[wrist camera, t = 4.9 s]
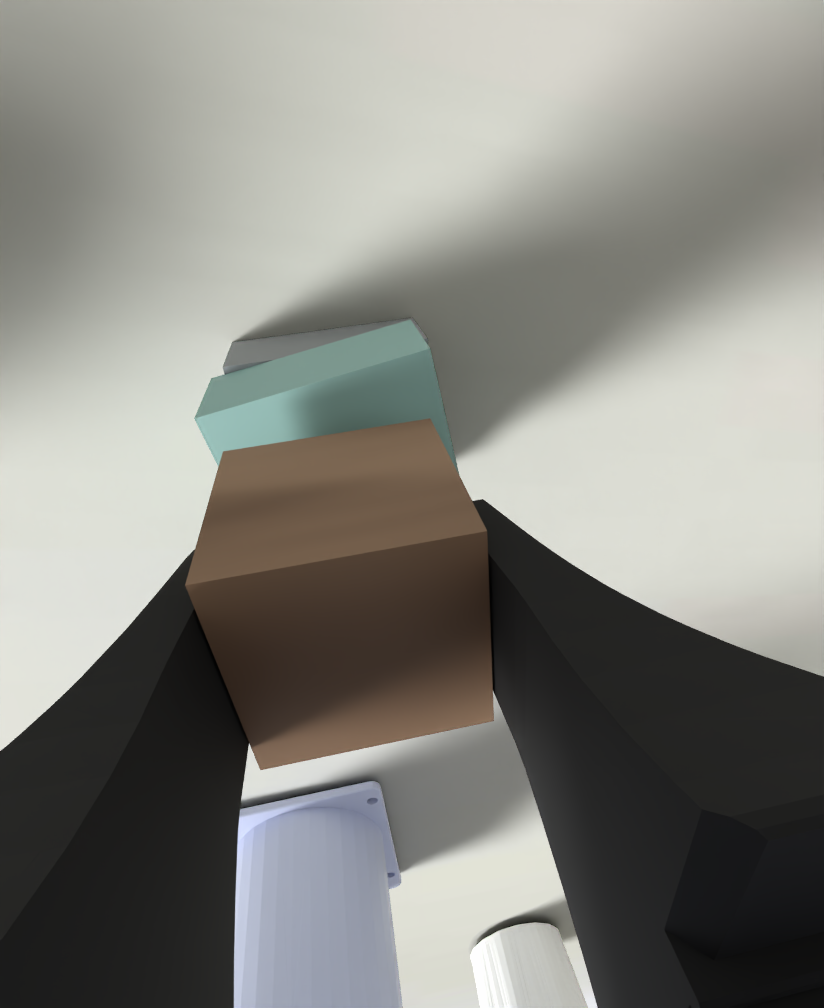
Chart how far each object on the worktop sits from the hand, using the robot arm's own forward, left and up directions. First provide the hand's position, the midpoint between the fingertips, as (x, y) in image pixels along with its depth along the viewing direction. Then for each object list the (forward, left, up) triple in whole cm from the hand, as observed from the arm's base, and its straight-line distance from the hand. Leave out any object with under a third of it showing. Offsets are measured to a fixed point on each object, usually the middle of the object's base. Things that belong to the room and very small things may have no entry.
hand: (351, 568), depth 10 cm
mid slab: (0, 0, -5) cm, 5 cm away
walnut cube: (0, 0, -2) cm, 2 cm away
